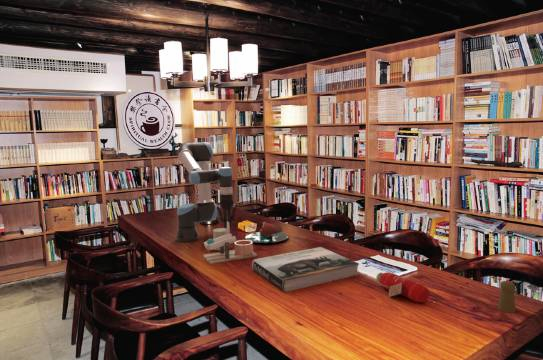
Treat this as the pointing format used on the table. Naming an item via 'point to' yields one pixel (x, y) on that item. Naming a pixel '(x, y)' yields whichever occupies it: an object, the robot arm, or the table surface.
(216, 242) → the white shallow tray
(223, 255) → the stand
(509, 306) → the green chess rook
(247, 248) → the cup
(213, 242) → the ball
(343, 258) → the book
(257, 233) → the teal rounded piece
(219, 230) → the can
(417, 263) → the table surface
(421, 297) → the red elongated piece
